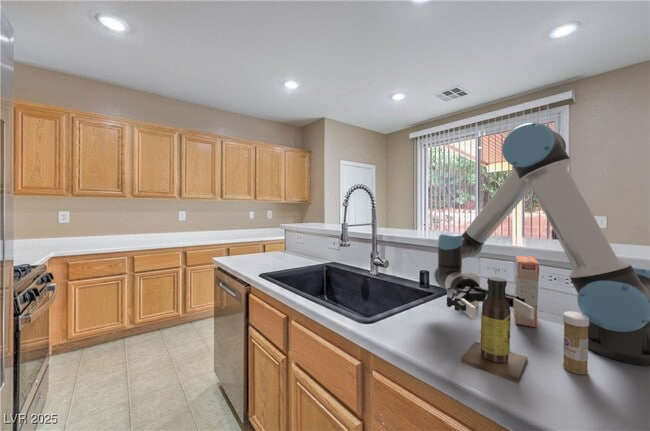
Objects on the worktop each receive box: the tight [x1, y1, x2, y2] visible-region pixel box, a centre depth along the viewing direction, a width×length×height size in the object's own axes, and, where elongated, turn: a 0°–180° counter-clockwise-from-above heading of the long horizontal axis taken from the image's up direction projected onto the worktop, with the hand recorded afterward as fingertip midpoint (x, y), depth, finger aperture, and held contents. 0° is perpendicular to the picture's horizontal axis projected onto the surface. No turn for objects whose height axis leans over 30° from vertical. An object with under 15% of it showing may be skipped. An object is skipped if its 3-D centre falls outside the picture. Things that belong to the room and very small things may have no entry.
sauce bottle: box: [480, 276, 512, 362], centre depth 71 cm, size 6×6×20 cm
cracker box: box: [513, 255, 540, 328], centre depth 97 cm, size 14×6×21 cm, turn 148°
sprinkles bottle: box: [562, 310, 589, 375], centre depth 67 cm, size 5×5×13 cm
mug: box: [461, 271, 481, 308], centre depth 112 cm, size 10×7×12 cm, turn 129°
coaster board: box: [460, 341, 528, 383], centre depth 71 cm, size 12×12×1 cm
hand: (503, 313), depth 67 cm, fingers open, 13 cm apart
